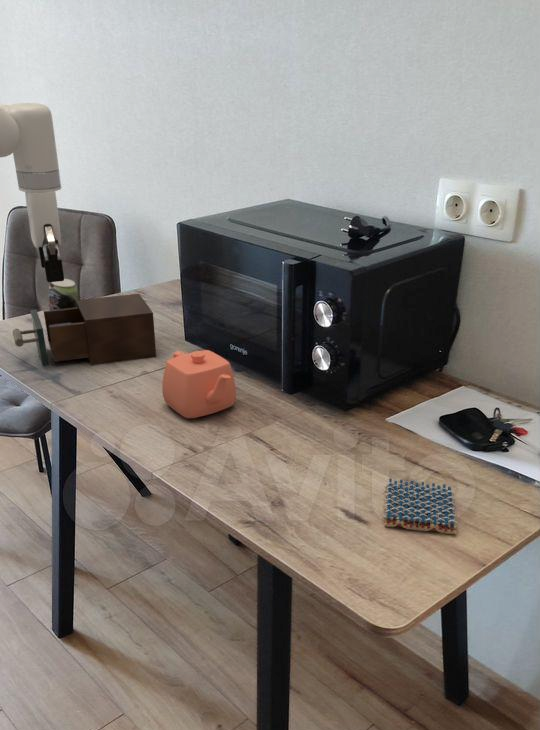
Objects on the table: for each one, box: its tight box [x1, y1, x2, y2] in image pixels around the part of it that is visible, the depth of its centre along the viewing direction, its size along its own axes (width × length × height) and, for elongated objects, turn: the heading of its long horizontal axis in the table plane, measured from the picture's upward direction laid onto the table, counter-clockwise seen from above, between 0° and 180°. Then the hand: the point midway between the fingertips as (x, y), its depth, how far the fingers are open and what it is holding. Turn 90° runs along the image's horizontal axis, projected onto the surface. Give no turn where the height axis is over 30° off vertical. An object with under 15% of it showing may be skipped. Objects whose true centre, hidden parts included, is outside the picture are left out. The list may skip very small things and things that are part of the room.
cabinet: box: [76, 293, 157, 366], centre depth 148 cm, size 14×13×10 cm
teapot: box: [161, 349, 237, 419], centre depth 126 cm, size 12×18×10 cm, turn 37°
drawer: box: [12, 307, 89, 367], centre depth 144 cm, size 17×11×8 cm
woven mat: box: [382, 478, 459, 536], centre depth 102 cm, size 10×11×2 cm
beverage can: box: [48, 278, 79, 310], centre depth 154 cm, size 6×7×12 cm
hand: (52, 273), depth 137 cm, fingers open, 9 cm apart
